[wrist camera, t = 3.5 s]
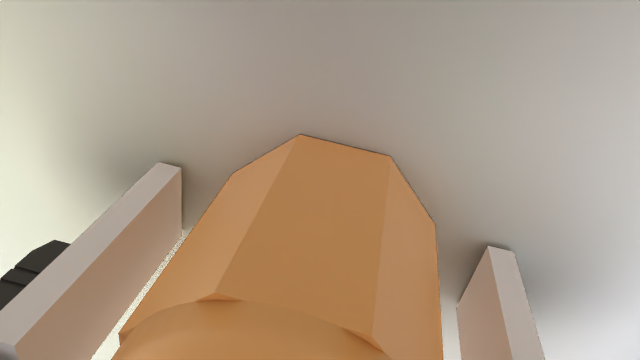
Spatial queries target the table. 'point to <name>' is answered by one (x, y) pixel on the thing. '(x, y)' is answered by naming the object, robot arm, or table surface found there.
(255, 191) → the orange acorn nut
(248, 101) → the table surface
